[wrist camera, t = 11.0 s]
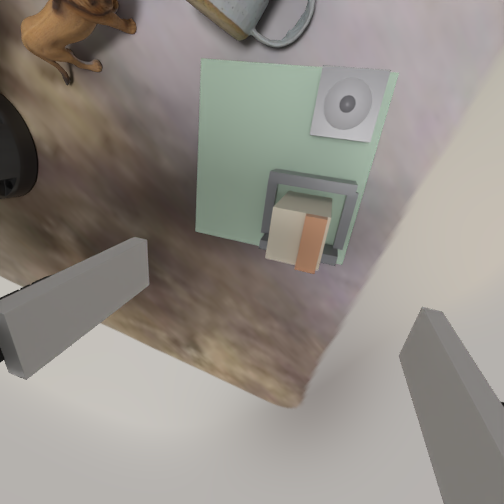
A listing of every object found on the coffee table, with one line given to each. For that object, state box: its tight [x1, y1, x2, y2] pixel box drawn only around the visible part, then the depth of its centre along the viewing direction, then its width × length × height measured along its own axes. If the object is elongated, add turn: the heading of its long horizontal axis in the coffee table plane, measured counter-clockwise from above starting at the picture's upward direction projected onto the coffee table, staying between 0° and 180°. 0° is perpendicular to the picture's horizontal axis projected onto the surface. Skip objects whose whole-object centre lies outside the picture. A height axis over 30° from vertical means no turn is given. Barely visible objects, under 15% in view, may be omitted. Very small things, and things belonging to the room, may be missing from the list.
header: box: [259, 168, 359, 266], centre depth 27 cm, size 9×8×3 cm
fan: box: [310, 65, 391, 143], centre depth 22 cm, size 5×5×4 cm
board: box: [195, 58, 399, 265], centre depth 28 cm, size 18×18×1 cm
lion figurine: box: [21, 0, 136, 85], centre depth 25 cm, size 15×5×9 cm, turn 127°
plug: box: [265, 191, 332, 274], centre depth 24 cm, size 4×4×9 cm
